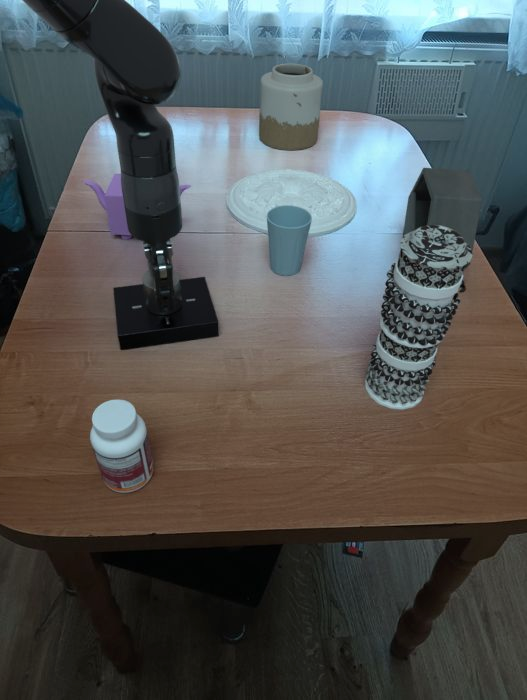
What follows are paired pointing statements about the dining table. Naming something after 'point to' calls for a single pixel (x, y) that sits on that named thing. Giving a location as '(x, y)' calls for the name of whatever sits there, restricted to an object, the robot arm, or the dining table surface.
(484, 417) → the dining table surface
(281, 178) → the ceiling medallion
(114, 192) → the teapot
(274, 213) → the cup
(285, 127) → the vase
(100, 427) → the pill bottle
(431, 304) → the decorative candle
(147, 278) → the hob knob
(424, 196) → the planter
